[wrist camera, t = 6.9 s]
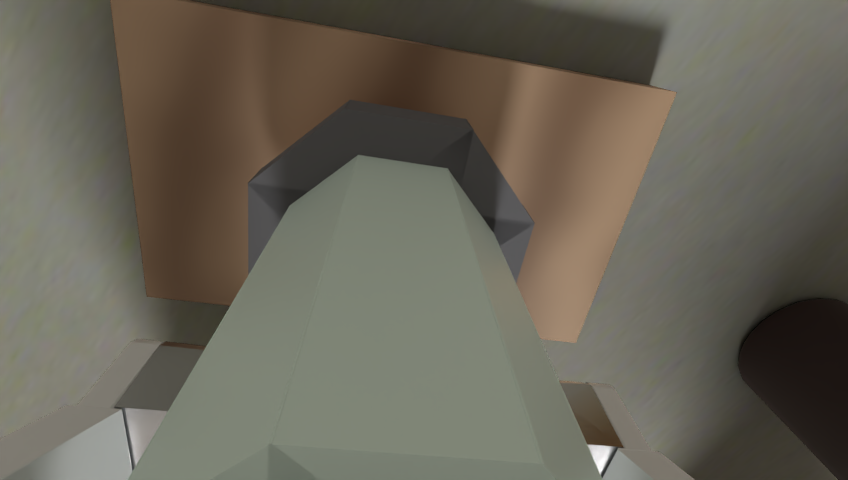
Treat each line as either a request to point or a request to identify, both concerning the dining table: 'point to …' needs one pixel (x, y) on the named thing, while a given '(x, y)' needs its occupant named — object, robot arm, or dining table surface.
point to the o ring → (395, 140)
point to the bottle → (805, 375)
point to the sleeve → (374, 351)
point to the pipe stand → (373, 83)
